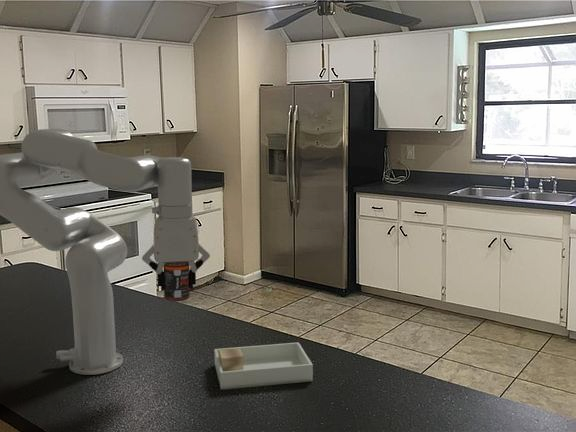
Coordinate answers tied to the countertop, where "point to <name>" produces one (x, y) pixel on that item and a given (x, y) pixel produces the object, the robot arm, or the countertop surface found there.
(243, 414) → the countertop surface
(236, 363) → the maple cube
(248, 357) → the tray
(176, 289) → the supplement bottle
